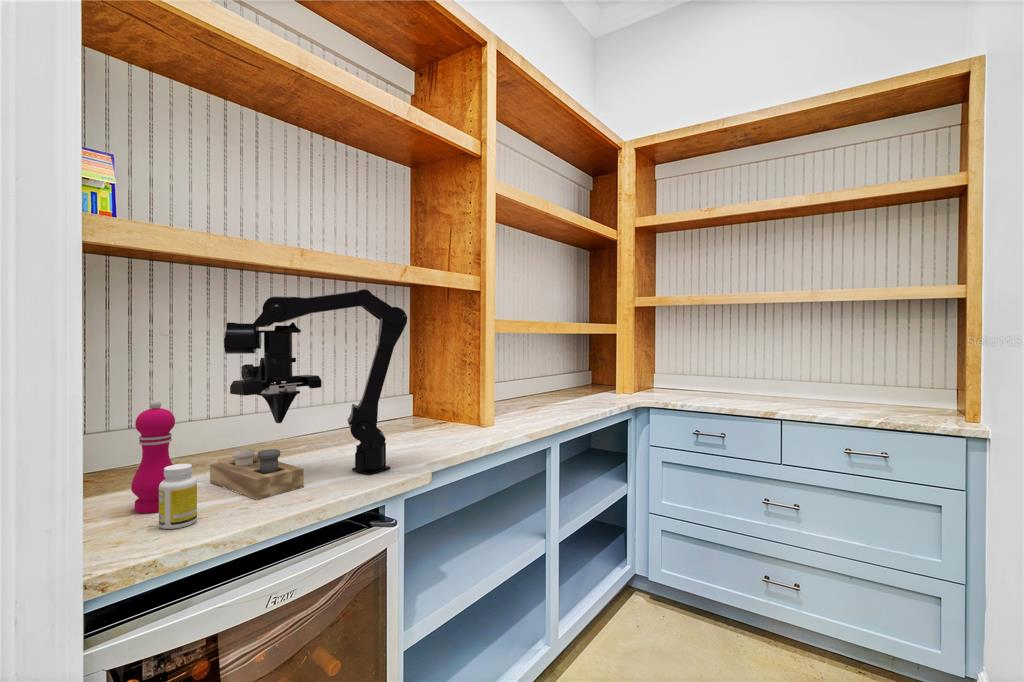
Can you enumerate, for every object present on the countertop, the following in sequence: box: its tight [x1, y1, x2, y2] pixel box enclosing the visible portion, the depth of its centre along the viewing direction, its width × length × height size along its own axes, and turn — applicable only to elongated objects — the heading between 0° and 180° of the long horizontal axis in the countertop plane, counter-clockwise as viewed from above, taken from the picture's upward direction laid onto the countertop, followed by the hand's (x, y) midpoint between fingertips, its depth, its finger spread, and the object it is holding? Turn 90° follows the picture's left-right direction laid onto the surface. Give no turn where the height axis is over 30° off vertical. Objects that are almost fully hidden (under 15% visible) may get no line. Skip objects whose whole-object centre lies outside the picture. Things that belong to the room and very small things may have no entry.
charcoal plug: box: [257, 448, 281, 474], centre depth 103 cm, size 4×4×6 cm
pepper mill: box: [130, 399, 176, 514], centre depth 92 cm, size 7×7×20 cm
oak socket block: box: [209, 454, 305, 501], centre depth 106 cm, size 10×19×4 cm, turn 55°
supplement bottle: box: [158, 463, 198, 530], centre depth 85 cm, size 5×5×10 cm
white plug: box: [232, 448, 256, 467], centre depth 109 cm, size 4×4×6 cm
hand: (278, 423), depth 111 cm, fingers closed
